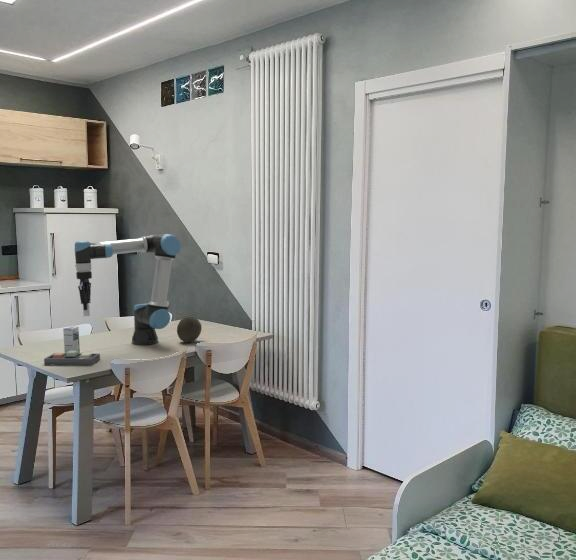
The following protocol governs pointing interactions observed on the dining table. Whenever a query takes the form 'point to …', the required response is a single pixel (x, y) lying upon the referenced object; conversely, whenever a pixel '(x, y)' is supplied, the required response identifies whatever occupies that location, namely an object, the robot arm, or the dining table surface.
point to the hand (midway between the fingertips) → (86, 315)
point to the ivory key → (86, 355)
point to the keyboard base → (72, 360)
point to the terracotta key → (58, 355)
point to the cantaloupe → (189, 329)
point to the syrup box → (71, 339)
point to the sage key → (72, 353)
